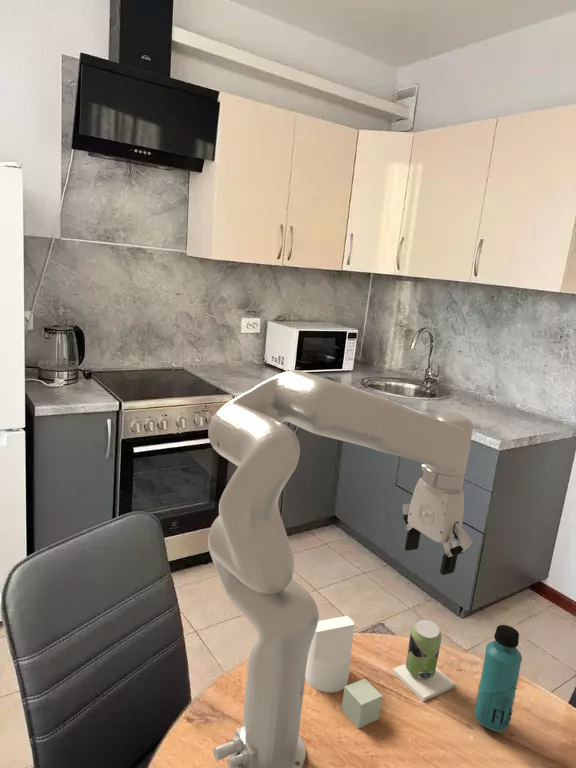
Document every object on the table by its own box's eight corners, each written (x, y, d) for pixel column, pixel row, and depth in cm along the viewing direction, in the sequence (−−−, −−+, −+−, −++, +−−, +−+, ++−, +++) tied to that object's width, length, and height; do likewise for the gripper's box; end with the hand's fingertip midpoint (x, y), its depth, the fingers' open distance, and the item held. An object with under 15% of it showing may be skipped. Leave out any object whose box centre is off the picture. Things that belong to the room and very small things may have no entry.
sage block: (358, 728, 101) (361, 705, 100) (341, 709, 105) (344, 686, 104) (378, 719, 104) (382, 695, 103) (361, 701, 108) (364, 678, 107)
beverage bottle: (485, 741, 101) (504, 644, 97) (465, 713, 107) (482, 620, 103) (516, 736, 102) (535, 640, 99) (494, 709, 109) (511, 617, 105)
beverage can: (431, 663, 119) (439, 614, 116) (438, 689, 112) (446, 637, 109) (402, 659, 119) (409, 610, 116) (406, 685, 112) (414, 633, 109)
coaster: (423, 701, 109) (423, 697, 109) (392, 671, 116) (392, 668, 116) (454, 687, 114) (455, 683, 114) (422, 659, 121) (423, 656, 121)
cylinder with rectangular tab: (316, 696, 107) (323, 641, 105) (296, 665, 115) (302, 614, 113) (356, 686, 111) (363, 633, 109) (334, 657, 119) (341, 607, 117)
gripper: (397, 464, 111) (384, 543, 114) (464, 497, 97) (448, 587, 100) (424, 462, 115) (411, 538, 118) (492, 493, 101) (476, 579, 104)
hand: (428, 560), depth 109 cm, fingers open, 9 cm apart
